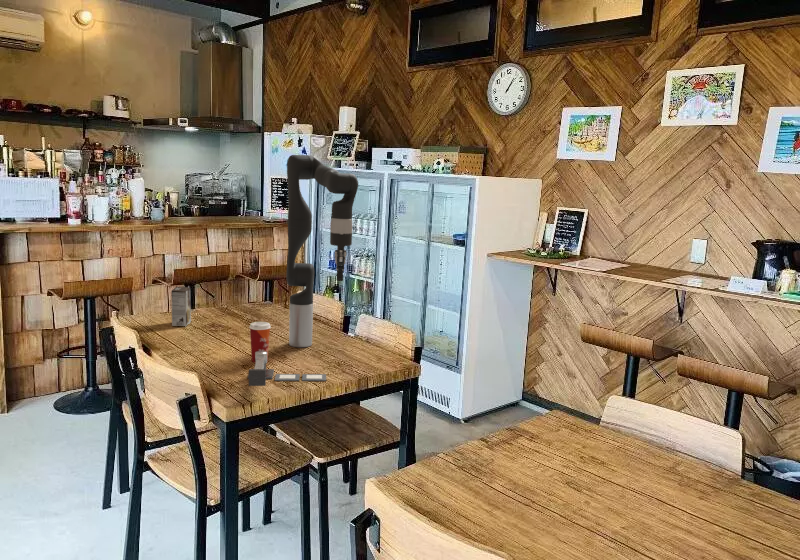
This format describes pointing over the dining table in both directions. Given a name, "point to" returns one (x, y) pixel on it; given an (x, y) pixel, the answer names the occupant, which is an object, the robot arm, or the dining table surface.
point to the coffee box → (181, 306)
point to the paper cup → (259, 337)
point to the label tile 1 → (287, 377)
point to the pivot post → (268, 373)
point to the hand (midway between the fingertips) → (339, 280)
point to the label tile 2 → (314, 377)
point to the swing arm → (258, 370)
